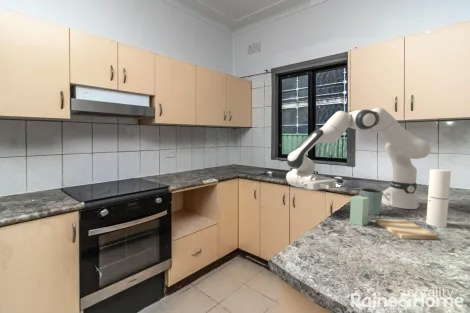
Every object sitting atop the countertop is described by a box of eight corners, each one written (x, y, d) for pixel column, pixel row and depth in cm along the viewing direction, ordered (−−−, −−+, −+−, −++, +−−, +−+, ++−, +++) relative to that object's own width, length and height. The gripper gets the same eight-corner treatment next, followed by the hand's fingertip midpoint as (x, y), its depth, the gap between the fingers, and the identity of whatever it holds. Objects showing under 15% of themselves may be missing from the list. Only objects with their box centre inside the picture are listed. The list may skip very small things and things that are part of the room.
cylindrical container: (438, 227, 104) (443, 171, 102) (422, 222, 111) (425, 169, 109) (450, 226, 106) (455, 170, 104) (433, 221, 113) (437, 168, 111)
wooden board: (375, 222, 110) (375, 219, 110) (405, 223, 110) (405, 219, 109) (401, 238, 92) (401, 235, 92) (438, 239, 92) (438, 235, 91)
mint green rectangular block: (349, 222, 110) (350, 196, 109) (355, 220, 113) (357, 195, 112) (361, 226, 105) (363, 199, 104) (367, 223, 108) (369, 197, 108)
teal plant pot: (375, 210, 129) (377, 188, 128) (385, 216, 119) (387, 192, 118) (356, 209, 130) (357, 187, 129) (364, 215, 120) (365, 192, 119)
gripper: (299, 177, 123) (322, 181, 111) (323, 174, 135) (346, 178, 123) (298, 189, 123) (322, 194, 112) (322, 185, 135) (345, 190, 124)
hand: (335, 186), depth 118 cm, fingers open, 8 cm apart
